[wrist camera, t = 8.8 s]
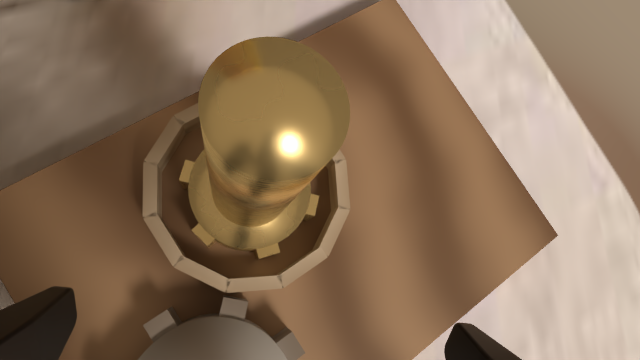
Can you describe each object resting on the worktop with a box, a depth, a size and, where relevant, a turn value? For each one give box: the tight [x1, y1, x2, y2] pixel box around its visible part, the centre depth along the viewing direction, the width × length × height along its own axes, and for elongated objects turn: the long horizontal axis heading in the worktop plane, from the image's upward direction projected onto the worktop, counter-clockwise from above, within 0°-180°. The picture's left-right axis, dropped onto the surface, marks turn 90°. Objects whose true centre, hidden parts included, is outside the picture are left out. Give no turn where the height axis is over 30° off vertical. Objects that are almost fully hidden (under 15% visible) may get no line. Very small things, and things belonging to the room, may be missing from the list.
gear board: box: [0, 0, 558, 360], centre depth 21 cm, size 25×18×4 cm
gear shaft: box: [179, 37, 350, 260], centre depth 16 cm, size 6×6×12 cm
